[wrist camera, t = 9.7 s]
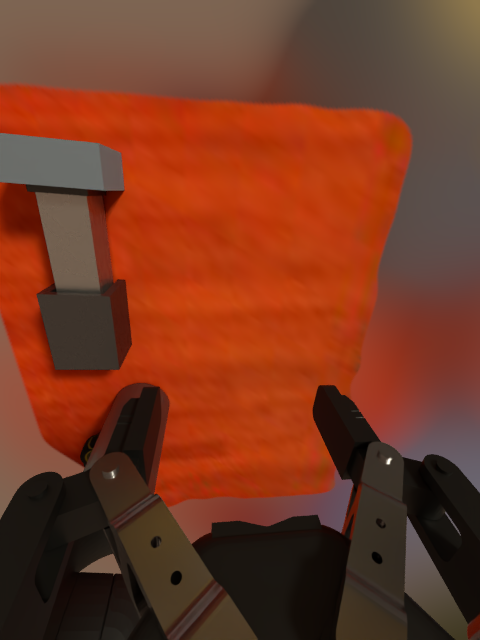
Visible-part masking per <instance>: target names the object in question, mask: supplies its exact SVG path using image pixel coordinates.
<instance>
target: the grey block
mask: <svg viewBox="0 0 480 640" xmlns="http://www.w3.org/2000/svg"><path fill="white" fill-rule="evenodd" d="M0 182H6V183H18V184H30V185H43V186H55V187H67V188H79V189H91V190H104V191H124V180H123V169H122V158H121V153H120V152H117V151H115V150H113V149H110V148H108V147H106V146H104V145H101V144H99V143H91V142H81V141H72V140H62V139H52V138H42V137H33V136H23V135H13V134H4V133H0Z"/></svg>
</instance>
